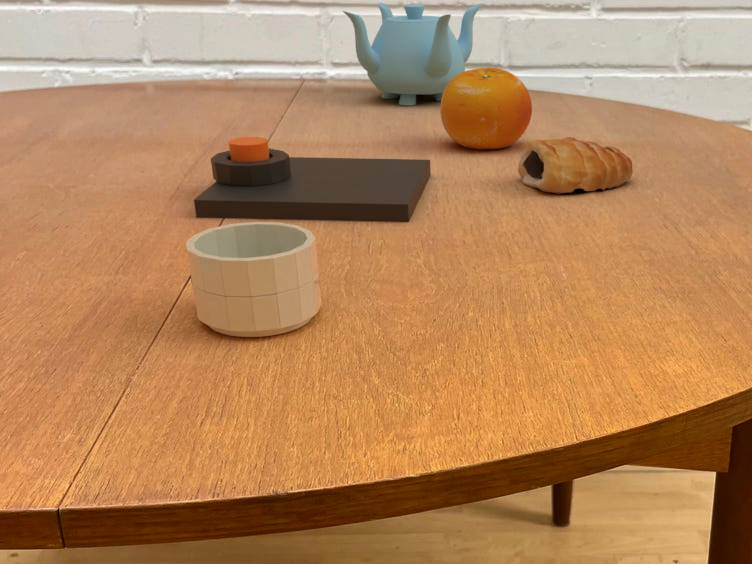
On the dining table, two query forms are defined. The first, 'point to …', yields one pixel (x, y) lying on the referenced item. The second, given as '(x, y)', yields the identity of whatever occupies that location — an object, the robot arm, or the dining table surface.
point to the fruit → (485, 108)
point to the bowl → (254, 278)
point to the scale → (314, 188)
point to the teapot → (413, 52)
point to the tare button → (249, 149)
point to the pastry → (573, 165)
